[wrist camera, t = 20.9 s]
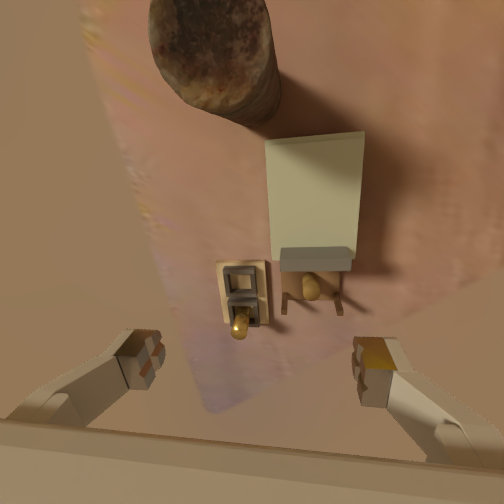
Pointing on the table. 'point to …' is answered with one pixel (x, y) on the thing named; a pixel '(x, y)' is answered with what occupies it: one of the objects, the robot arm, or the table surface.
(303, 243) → the lid
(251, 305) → the tan socket tray
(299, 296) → the base
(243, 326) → the pin
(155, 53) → the brown wooden log
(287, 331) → the table surface
